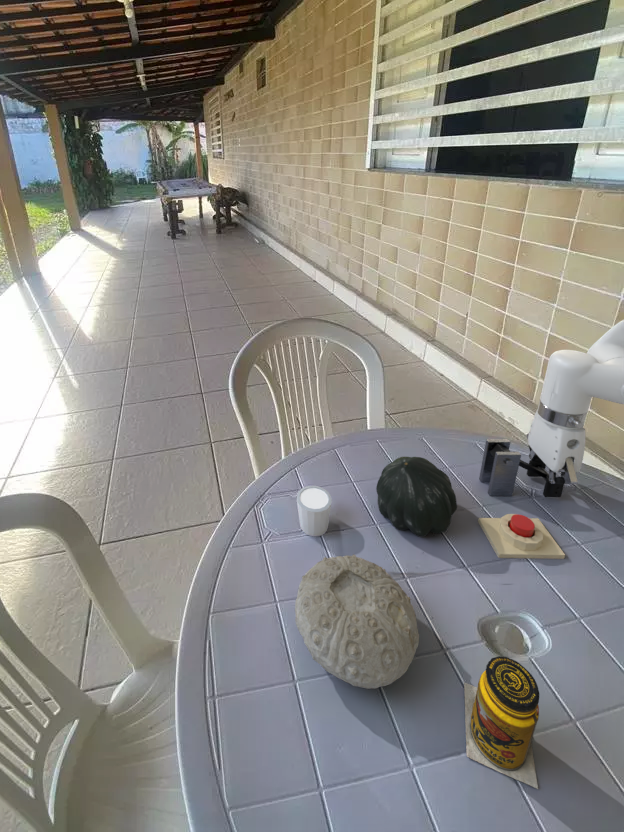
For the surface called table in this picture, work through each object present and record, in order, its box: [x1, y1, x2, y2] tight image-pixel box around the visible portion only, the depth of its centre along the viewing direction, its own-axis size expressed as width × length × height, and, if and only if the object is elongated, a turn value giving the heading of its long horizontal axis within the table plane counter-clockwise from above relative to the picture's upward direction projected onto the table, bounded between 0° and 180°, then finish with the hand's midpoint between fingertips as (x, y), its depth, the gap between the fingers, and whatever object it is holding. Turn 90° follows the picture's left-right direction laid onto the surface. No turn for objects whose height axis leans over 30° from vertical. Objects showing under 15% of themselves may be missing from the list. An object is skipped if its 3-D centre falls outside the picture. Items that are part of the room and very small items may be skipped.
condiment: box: [463, 655, 540, 790], centre depth 51 cm, size 7×8×12 cm
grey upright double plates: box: [478, 438, 522, 497], centre depth 88 cm, size 12×9×12 cm
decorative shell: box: [294, 554, 420, 690], centre depth 63 cm, size 18×18×10 cm
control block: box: [477, 513, 566, 560], centre depth 77 cm, size 11×8×4 cm
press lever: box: [490, 444, 549, 481], centre depth 87 cm, size 13×5×2 cm, turn 86°
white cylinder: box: [296, 485, 333, 537], centre depth 84 cm, size 7×7×7 cm
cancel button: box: [510, 513, 535, 538], centre depth 76 cm, size 4×4×2 cm
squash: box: [375, 456, 458, 538], centre depth 83 cm, size 14×15×15 cm
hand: (543, 485), depth 89 cm, fingers closed on press lever, 5 cm apart
